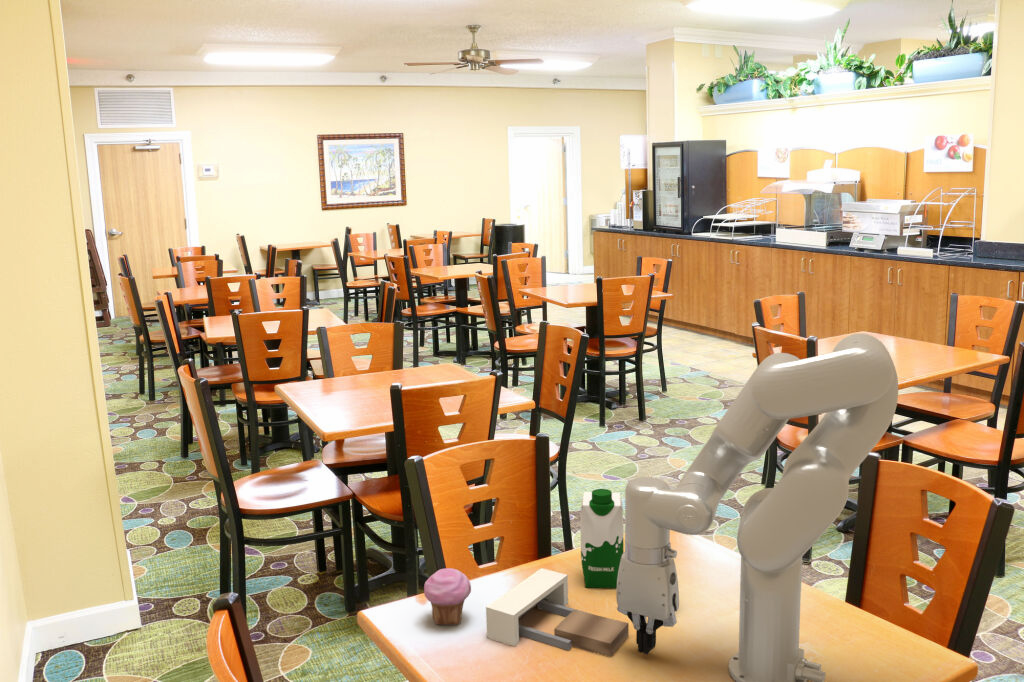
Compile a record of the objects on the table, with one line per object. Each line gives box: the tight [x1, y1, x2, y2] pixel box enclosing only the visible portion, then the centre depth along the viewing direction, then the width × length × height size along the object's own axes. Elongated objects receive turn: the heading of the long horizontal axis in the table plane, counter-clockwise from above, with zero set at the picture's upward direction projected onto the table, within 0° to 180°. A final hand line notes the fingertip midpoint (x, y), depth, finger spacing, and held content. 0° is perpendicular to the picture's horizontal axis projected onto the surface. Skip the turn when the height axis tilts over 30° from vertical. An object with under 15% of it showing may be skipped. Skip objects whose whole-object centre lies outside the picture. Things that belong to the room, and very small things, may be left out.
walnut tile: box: [553, 609, 630, 658], centre depth 156 cm, size 11×8×3 cm
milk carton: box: [580, 488, 625, 589], centre depth 178 cm, size 9×9×20 cm
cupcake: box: [423, 567, 472, 626], centre depth 164 cm, size 9×9×10 cm
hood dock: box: [485, 567, 588, 652], centre depth 161 cm, size 15×19×6 cm
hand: (646, 649), depth 150 cm, fingers closed
